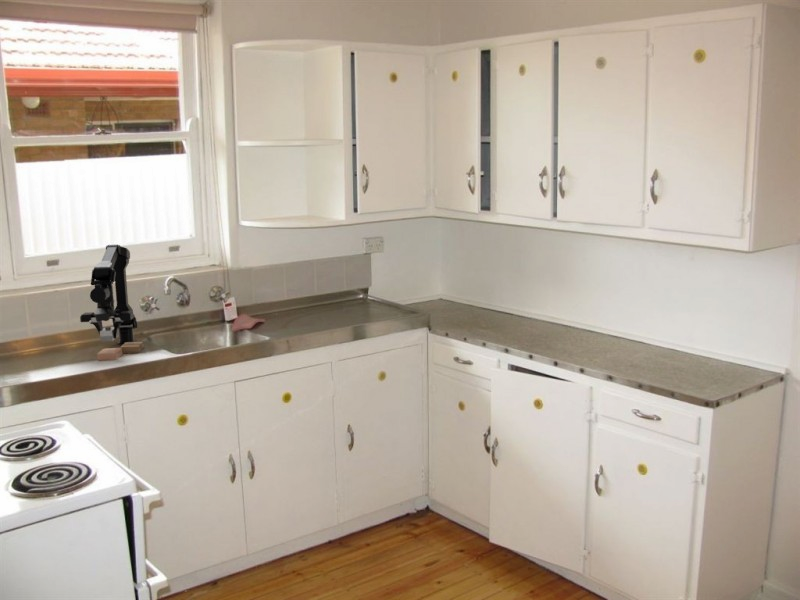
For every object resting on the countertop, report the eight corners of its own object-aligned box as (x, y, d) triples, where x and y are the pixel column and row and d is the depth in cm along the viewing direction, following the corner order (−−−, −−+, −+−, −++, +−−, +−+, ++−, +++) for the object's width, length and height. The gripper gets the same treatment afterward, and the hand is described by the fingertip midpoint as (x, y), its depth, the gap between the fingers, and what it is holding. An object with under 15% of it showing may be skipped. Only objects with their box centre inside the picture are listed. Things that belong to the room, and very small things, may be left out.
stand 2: (126, 348, 340) (125, 342, 339) (143, 347, 340) (143, 341, 340) (120, 353, 331) (120, 347, 330) (138, 352, 331) (138, 346, 331)
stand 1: (104, 354, 329) (103, 348, 328) (122, 354, 329) (121, 347, 329) (97, 360, 320) (97, 353, 320) (116, 359, 321) (116, 352, 320)
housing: (105, 337, 327) (104, 325, 326) (117, 337, 327) (116, 325, 326) (100, 341, 320) (99, 329, 319) (112, 341, 320) (111, 328, 320)
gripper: (74, 303, 312) (77, 344, 315) (125, 301, 314) (128, 342, 316) (82, 298, 323) (86, 337, 326) (132, 296, 325) (135, 335, 327)
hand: (108, 338), depth 324 cm, fingers closed on housing, 4 cm apart
